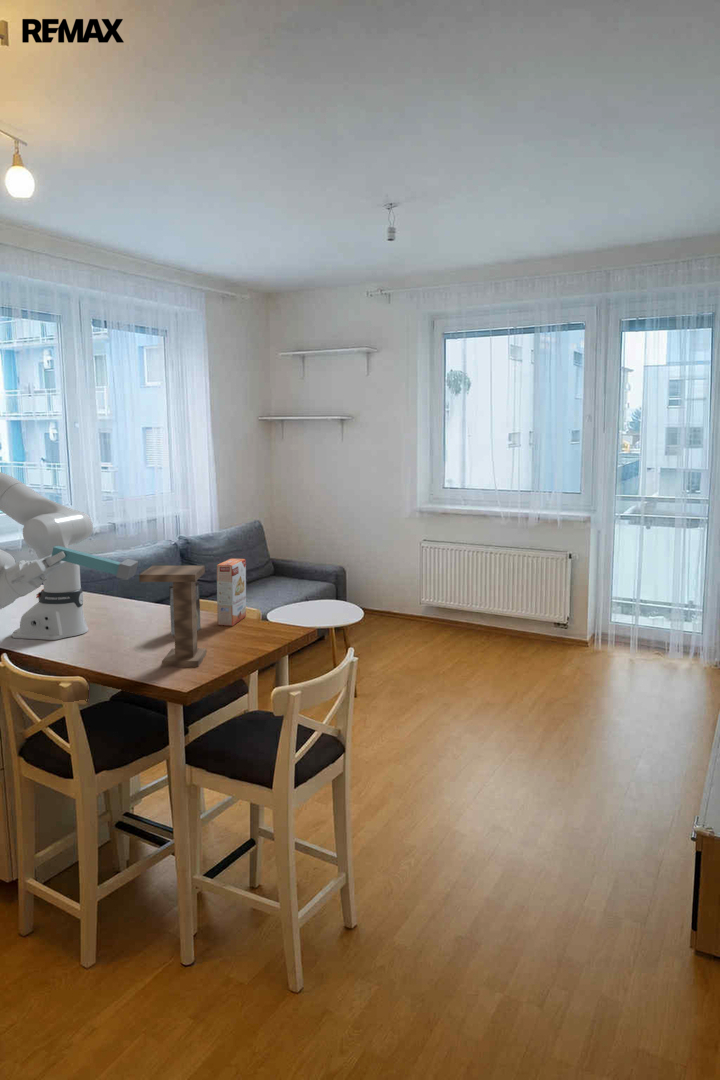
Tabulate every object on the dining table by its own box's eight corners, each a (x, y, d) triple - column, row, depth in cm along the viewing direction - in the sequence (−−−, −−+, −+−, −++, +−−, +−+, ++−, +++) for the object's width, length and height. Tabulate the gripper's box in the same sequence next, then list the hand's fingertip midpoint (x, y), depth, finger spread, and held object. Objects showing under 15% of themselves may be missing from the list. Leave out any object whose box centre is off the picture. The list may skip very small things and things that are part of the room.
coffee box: (183, 628, 241) (181, 580, 239) (201, 629, 240) (199, 581, 238) (170, 635, 233) (168, 585, 230) (189, 636, 231) (187, 586, 229)
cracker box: (234, 626, 243) (232, 565, 240) (216, 625, 244) (215, 564, 241) (247, 616, 257) (246, 558, 254) (231, 615, 258) (230, 557, 255)
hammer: (47, 559, 198) (50, 545, 197) (58, 554, 206) (61, 540, 205) (126, 580, 199) (130, 566, 198) (135, 574, 207) (138, 561, 206)
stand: (142, 667, 200) (139, 574, 196) (155, 652, 213) (152, 565, 210) (197, 667, 200) (195, 574, 196) (207, 652, 214) (204, 565, 210)
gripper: (1, 574, 192) (46, 548, 191) (34, 560, 212) (74, 537, 211) (15, 594, 192) (59, 568, 192) (46, 579, 213) (86, 556, 212)
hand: (67, 552), depth 202 cm, fingers closed on hammer, 3 cm apart
